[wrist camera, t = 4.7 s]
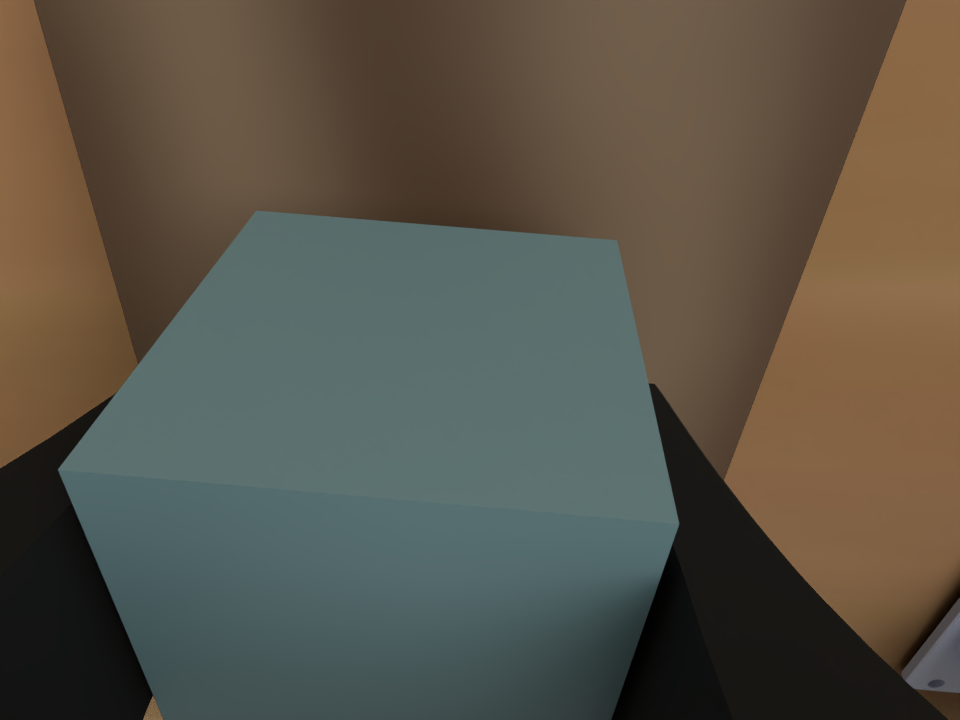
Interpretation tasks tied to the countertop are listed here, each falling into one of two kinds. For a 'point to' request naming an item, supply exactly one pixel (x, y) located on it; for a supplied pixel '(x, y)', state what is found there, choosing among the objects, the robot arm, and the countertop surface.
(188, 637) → the teal cube
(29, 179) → the countertop surface
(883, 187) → the countertop surface
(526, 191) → the walnut block
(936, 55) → the countertop surface
